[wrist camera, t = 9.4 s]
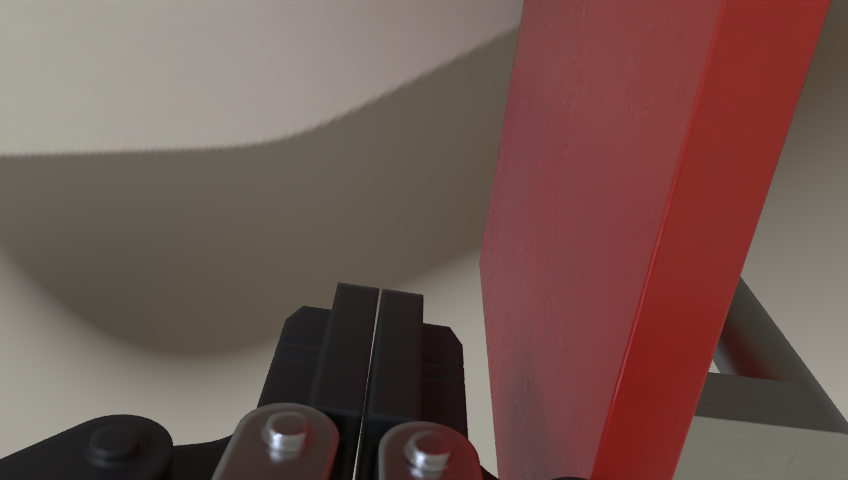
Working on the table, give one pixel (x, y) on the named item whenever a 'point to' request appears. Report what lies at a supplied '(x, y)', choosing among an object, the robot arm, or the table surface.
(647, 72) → the door
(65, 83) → the table surface
